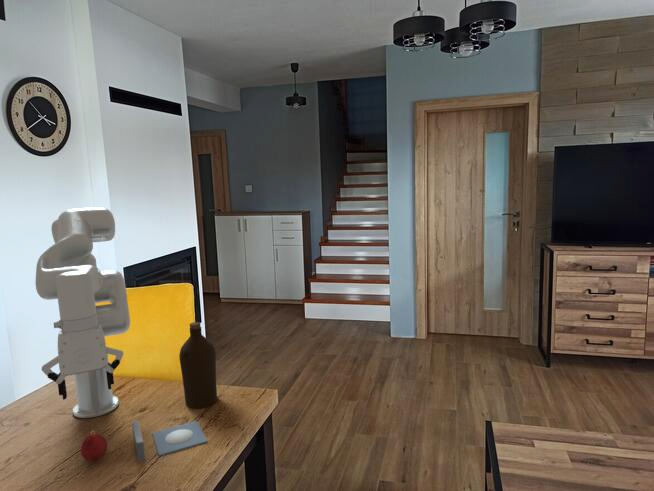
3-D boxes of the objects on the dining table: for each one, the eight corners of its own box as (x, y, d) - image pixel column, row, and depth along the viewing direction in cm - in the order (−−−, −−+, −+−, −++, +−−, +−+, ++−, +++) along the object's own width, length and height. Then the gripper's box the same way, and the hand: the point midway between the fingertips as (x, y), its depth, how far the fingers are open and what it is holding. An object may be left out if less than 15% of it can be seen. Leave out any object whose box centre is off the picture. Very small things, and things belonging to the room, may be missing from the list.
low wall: (133, 439, 124) (131, 421, 123) (139, 437, 125) (137, 420, 124) (138, 462, 114) (136, 443, 113) (145, 460, 114) (143, 441, 113)
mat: (152, 434, 126) (152, 432, 126) (197, 421, 132) (197, 420, 132) (159, 456, 116) (158, 454, 116) (207, 442, 121) (207, 440, 121)
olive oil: (216, 408, 139) (210, 327, 136) (180, 411, 138) (172, 330, 135) (221, 392, 150) (215, 317, 146) (187, 395, 149) (180, 319, 145)
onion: (98, 470, 111) (94, 438, 110) (77, 467, 112) (73, 437, 111) (113, 455, 117) (110, 426, 116) (93, 453, 118) (90, 424, 117)
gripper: (35, 334, 102) (45, 408, 105) (120, 320, 110) (128, 389, 113) (37, 326, 109) (47, 395, 111) (118, 313, 117) (125, 378, 119)
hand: (87, 392), depth 112 cm, fingers open, 9 cm apart
